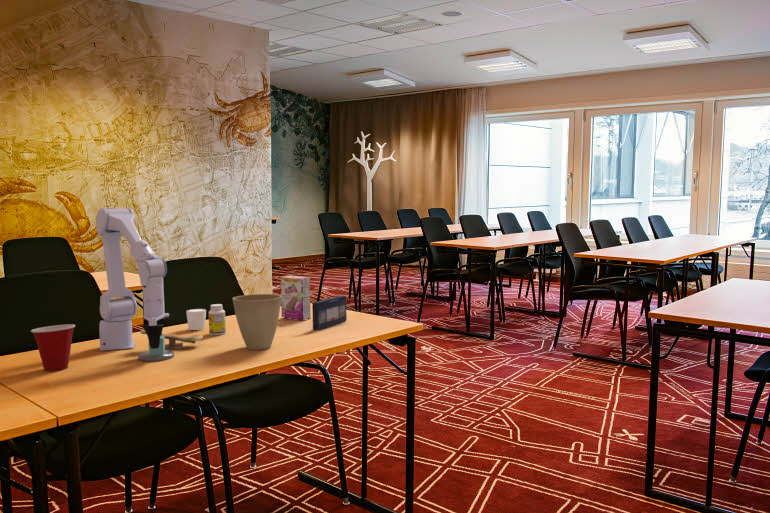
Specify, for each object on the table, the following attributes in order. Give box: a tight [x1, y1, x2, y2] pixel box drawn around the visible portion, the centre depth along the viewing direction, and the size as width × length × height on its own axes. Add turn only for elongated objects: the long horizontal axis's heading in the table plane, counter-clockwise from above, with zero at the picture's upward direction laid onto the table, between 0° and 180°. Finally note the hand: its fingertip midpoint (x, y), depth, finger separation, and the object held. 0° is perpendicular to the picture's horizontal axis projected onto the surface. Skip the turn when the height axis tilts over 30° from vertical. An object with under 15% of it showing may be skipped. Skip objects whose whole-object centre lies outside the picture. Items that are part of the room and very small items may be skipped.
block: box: [148, 336, 166, 356], centre depth 181 cm, size 4×4×5 cm
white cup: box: [186, 308, 207, 331], centre depth 222 cm, size 7×7×7 cm
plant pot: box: [232, 293, 281, 351], centre depth 192 cm, size 15×15×16 cm
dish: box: [137, 350, 175, 363], centre depth 181 cm, size 10×10×1 cm
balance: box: [139, 328, 204, 351], centre depth 193 cm, size 18×6×6 cm, turn 106°
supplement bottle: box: [208, 303, 227, 336], centre depth 213 cm, size 6×6×10 cm
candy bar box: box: [280, 275, 311, 321], centre depth 239 cm, size 11×5×16 cm, turn 58°
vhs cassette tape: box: [311, 295, 348, 331], centre depth 225 cm, size 18×3×10 cm, turn 148°
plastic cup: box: [30, 323, 76, 372], centre depth 170 cm, size 11×11×12 cm
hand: (155, 345), depth 181 cm, fingers open, 7 cm apart
